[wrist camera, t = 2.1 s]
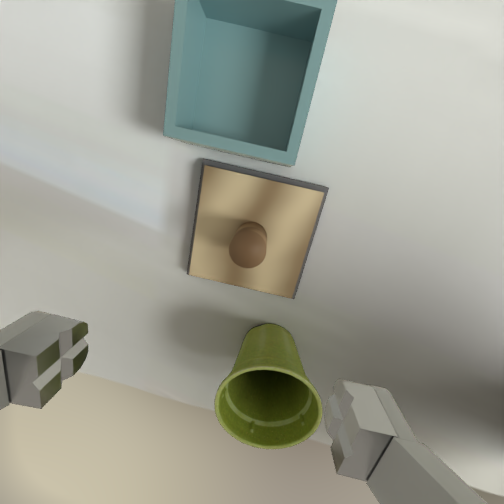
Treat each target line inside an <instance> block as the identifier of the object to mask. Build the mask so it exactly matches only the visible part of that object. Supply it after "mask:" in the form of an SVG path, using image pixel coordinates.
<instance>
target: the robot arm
mask: <svg viewBox="0 0 504 504" xmlns="http://www.w3.org/2000/svg"><path fill="white" fill-rule="evenodd" d="M87 333H88V324H87V323H85V322H83V321H79V320H75V319H71V318H67V317H63V316H59V315H55V314H49V313H45V312H42V311H34V312H30V313H29V314H27V315H25V316H24V317H22V318H20V319H18V320H17V321H15V322H13V323H12V324H10V325H8V326H6V327H5V328H3V329H1V330H0V410H1V409H3V408H4V407H6V406H8V405H9V403H12V404H18V405H23V406H29V407H34V408H40V409H42V407H43V406H44V405H45V404H46V403H47V402H48V401H49V400H50V399H51V398H52V397H53V396H54V395H55V394H56V393H57V392H58V391H59V390H60V389H61V386H62V380H65V379H67V378H69V377H71V376H73V375H74V374H75V373H76V372H77V371H78V370H79V369H80V368H81V366H82V364H83V363H84V361H85V359H86V357H87V353H88V343H87V342H86V340H85V339H84V338H83V337H84V336H85V335H86V334H87ZM333 389H334V393H335V394H334V395H332V396H331V397H329V398H328V401H327V403H326V406H325V425H326V430H327V432H328V434H329V435H330V436H331V438H332V439H333V440H334V441H333V443H332V446H331V451H332V455H333V460H334V464H335V469H336V473H337V474H339V475H343V476H347V477H351V478H355V479H359V480H363V481H367V485H368V486H369V488H370V490H371V491H372V493H373V494H374V496H375V497H376V498H377V500H378V502H379V503H380V504H488V503H487V502H486V501H484V500H483V499H482V498H481V497H480V496H479V495H478V494H477V493H476V492H475V491H474V490H473V489H472V488H471V487H469V486H468V485H467V484H466V483H465V482H464V481H463V480H462V479H461V478H460V477H459V476H458V475H457V474H456V473H455V472H453V471H452V470H451V469H450V468H449V467H448V466H447V465H446V464H445V463H444V462H443V461H442V460H441V459H440V458H438V457H437V456H436V455H435V454H434V453H433V452H432V451H431V450H430V449H429V448H428V447H427V446H426V445H425V444H423V443H419V442H418V441H417V439H416V437H415V436H414V434H413V432H412V430H411V429H410V427H409V425H408V423H407V421H406V420H405V418H404V416H403V414H402V413H401V411H400V409H399V407H398V405H397V404H396V402H395V400H394V398H393V397H392V395H391V393H390V392H389V391H388V390H387V389H386V388H382V387H377V386H372V385H366V384H362V383H357V382H352V381H348V380H343V379H338V380H337V381H336V382H335V384H334V386H333Z"/></svg>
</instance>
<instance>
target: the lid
mask: <svg viewBox="0 0 504 504" xmlns="http://www.w3.org/2000/svg"><path fill="white" fill-rule="evenodd" d="M323 196H324V192H320V191H316V190H311V189H307V188H303V187H298V186H294V185H290V184H285V183H281V182H277V181H272V180H268V179H264V178H259V177H255V176H251V175H246V174H242V173H238V172H233V171H229V170H225V169H220V168H216V167H212V166H207V165H205V167H204V174H203V181H202V188H201V195H200V201H199V208H198V215H197V222H196V229H195V236H194V243H193V250H192V257H191V264H190V271H189V275H192V276H196V277H200V278H205V279H209V280H213V281H218V282H222V283H226V284H231V285H235V286H240V287H244V288H248V289H253V290H257V291H261V292H266V293H270V294H274V295H279V296H283V297H287V298H292V296H293V293H294V290H295V286H296V283H297V280H298V277H299V273H300V270H301V267H302V264H303V260H304V257H305V254H306V251H307V247H308V244H309V241H310V238H311V235H312V231H313V228H314V225H315V222H316V218H317V215H318V212H319V209H320V205H321V202H322V199H323Z"/></svg>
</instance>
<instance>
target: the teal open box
mask: <svg viewBox="0 0 504 504" xmlns="http://www.w3.org/2000/svg"><path fill="white" fill-rule="evenodd" d="M336 4H337V0H175V7H174V18H173V30H172V41H171V52H170V64H169V75H168V86H167V98H166V109H165V120H164V132H163V135H164V136H167V137H169V138H172V139H175V140H178V141H181V142H184V143H187V144H192V145H196V146H200V147H205V148H209V149H213V150H218V151H222V152H226V153H231V154H235V155H239V156H244V157H248V158H252V159H257V160H261V161H265V162H270V163H274V164H278V165H283V166H287V167H291V166H294V165H295V162H296V158H297V154H298V150H299V146H300V142H301V138H302V135H303V131H304V127H305V123H306V119H307V115H308V111H309V108H310V104H311V100H312V96H313V92H314V88H315V84H316V81H317V77H318V73H319V69H320V65H321V61H322V58H323V54H324V50H325V46H326V42H327V38H328V34H329V31H330V27H331V23H332V19H333V15H334V11H335V7H336Z"/></svg>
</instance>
